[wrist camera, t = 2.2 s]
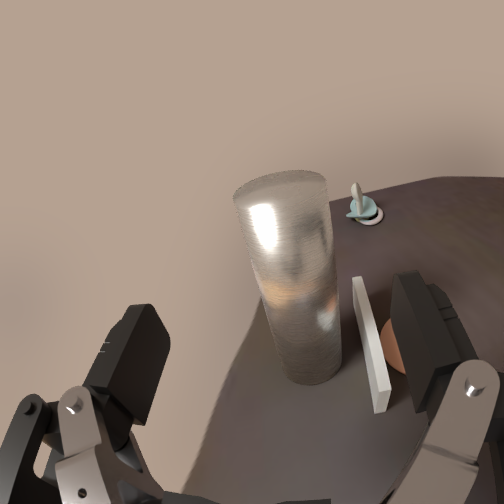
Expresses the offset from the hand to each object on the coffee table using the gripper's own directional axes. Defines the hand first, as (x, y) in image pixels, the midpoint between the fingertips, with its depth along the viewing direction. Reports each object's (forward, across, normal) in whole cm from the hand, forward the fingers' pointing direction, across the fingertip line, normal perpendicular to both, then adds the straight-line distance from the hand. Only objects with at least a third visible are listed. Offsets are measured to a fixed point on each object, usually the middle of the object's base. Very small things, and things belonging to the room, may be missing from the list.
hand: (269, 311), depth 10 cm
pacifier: (+38, -12, +18) cm, 44 cm away
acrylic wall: (+12, -6, +18) cm, 22 cm away
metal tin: (+12, 0, +18) cm, 21 cm away
